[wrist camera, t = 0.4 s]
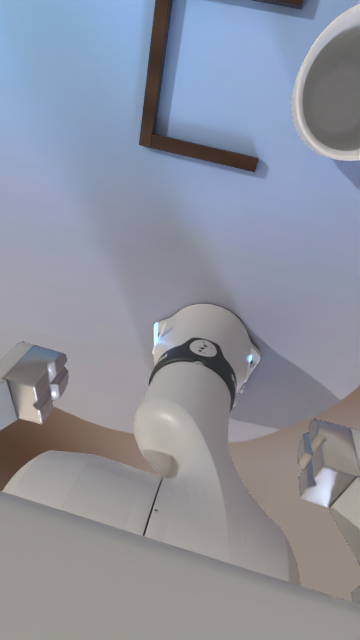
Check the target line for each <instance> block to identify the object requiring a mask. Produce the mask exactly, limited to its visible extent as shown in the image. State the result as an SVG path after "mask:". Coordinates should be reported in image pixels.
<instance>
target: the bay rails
mask: <svg viewBox="0 0 360 640" xmlns="http://www.w3.org/2000/svg"><path fill="white" fill-rule="evenodd" d="M253 1H259V2H264V3H270V4H276V5H281V6H287V7H292V8H298V9H301V7H302V3H303V0H253ZM171 7H172V0H156V1H155V9H154V18H153V27H152V36H151V45H150V53H149V62H148V71H147V80H146V89H145V97H144V106H143V115H142V124H141V132H140V141H139V145H142V146H146V147H151V148H154V149H159V150H163V151H167V152H171V153H176V154H180V155H184V156H188V157H193V158H197V159H201V160H205V161H210V162H214V163H218V164H222V165H227V166H231V167H235V168H240V169H244V170H248V171H252V172H255V169H256V166H257V162H258V158H257V157H252V156H248V155H244V154H239V153H235V152H230V151H226V150H222V149H217V148H213V147H209V146H204V145H200V144H196V143H191V142H187V141H183V140H178V139H174V138H170V137H165V136H161V135H157V134H155V127H156V120H157V112H158V105H159V97H160V90H161V82H162V75H163V67H164V60H165V52H166V45H167V37H168V30H169V22H170V15H171Z"/></svg>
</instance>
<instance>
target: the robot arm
mask: <svg viewBox="0 0 360 640" xmlns="http://www.w3.org/2000/svg"><path fill="white" fill-rule="evenodd" d="M159 334H160V335H159ZM153 337H154V348H153V351H152V354H153V355H154V368H153V370H152V373H151V377H150V379H149V387H148V389H147V391H146V393H145V395H144V397H143V399H142V401H141V403H140V405H139V407H138V410H137V412H136V414H135V418H134V435H135V439H136V441H137V444H138V447H139V449H140V451H141V453H142V455H143V456H144V458H145V459H146V460H147V461H148V463H149V464H150V465H151V466H152V467H153V468H154V469H155V470H156V471H157V472H158V473H159V474H160V475H161V476H158V475H155V474H152V473H149V472H146V471H143V470H140V469H137V468H134V467H131V466H128V465H125V464H122V463H119V462H116V461H113V460H110V459H107V458H104V457H101V456H98V455H91V454H82V453H74V452H63V451H47V452H44V453H43V454H40V455H38V456H37V457H35V458H34V459H32V460H31V461H29V462H28V463H27V464H26V465H24V466H23V467H22V468H21V469H20V470H19V471H18V472H17V473H16V474H15V475H14V476H13V477H12V478H11V480H10V481H9V482H8V484H7V485H6V487H5V488H4V490H3V491H0V640H360V586H359V587H357V588H356V589H355V590H353V591H352V592H351V595H352V602H350V601H347V600H344V599H341V598H338V597H334V596H331V595H328V594H325V593H322V592H319V591H315V590H312V589H309V588H306V587H303V586H301V585H300V584H301V583H300V576H299V570H298V566H297V562H296V559H295V556H294V553H293V550H292V548H291V546H290V544H289V541H288V539H287V537H286V536H285V534H284V532H283V531H282V529H281V528H280V527H279V526H278V525H277V524H276V523H275V522H274V521H273V520H272V519H271V518H270V517H269V516H268V515H267V514H266V513H265V512H264V511H263V510H262V509H261V507H260V506H259V505H258V504H257V502H256V501H255V500H254V499H253V497H252V496H251V494H250V493H249V491H248V490H247V489H246V487H245V485H244V484H243V482H242V480H241V478H240V477H239V474H238V472H237V471H236V468H235V466H234V464H233V461H232V458H231V455H230V452H229V447H228V422H229V413H230V412H231V410H232V408H235V407H236V405H237V403H238V400H239V395H237V393H238V392H239V393H242V392H243V391H244V388H245V385H243V384H244V383H245V382H247V379H248V377H249V376H250V374H251V373H252V371H253V370H254V369H255V367H256V366H257V364H258V363H259V361H260V359H261V353H260V351H259V350H258V349H257V348H256V347H255V345H254V344H253V343H252V342H251V341H250V338H249V335H248V333H247V330H246V328H245V326H244V325H243V323H242V322H241V321H240V320H239V318H238V317H236V316H235V315H234V314H233V313H231V312H230V311H228V310H226V309H224V308H222V307H219V306H216V305H211V304H195V305H191V306H188V307H185V308H183V309H181V310H180V311H178V312H177V313H176V314H175V315H173V316H172V317H171V318H169V319H165V320H161V321H158V322H157V323H155V325H154V328H153ZM251 361H252V362H251ZM66 362H67V359H66V354H64V353H61V352H57V351H54V350H51V349H47V348H44V347H40V346H37V345H33V344H29V343H26V342H20V343H18V344H17V345H16V346H15V347H14V348H13V349H12V350H11V351H10V352H9V353H8V354H7V355H6V356H5V357H4V358H3V359H2V360H1V361H0V430H1V429H3V428H5V427H6V426H8V425H9V424H11V423H13V422H14V421H16V420H17V418H20V419H23V420H27V421H31V422H35V423H40V424H43V422H44V421H45V419H46V418H47V416H48V415H49V413H50V412H51V410H52V409H53V404H52V402H53V401H55V400H56V399H58V398H60V397H61V396H62V394H63V392H64V391H65V388H66V386H67V383H68V377H69V376H68V370H67V369H66V368H65V367H64V365H65V364H66ZM297 459H298V465H299V466H300V468H301V469H302V473H301V475H300V476H299V490H300V499H302V500H306V501H309V502H312V503H315V504H318V505H321V506H324V507H328V508H329V511H330V513H331V515H332V516H333V518H334V520H335V522H336V524H337V525H338V527H339V529H340V531H341V533H342V534H343V536H344V538H345V540H346V542H347V543H348V545H349V547H350V548H351V551H352V552H353V554H354V556H355V558H356V560H357V561H358V563H359V565H360V430H357V429H353V428H350V427H346V426H342V425H338V424H334V423H330V422H326V421H322V420H318V419H313V420H312V421H311V422H310V424H309V432H307V433H305V434H303V436H302V438H301V440H300V442H299V446H298V454H297ZM162 479H163V480H162Z"/></svg>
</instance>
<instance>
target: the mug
mask: <svg viewBox="0 0 360 640" xmlns="http://www.w3.org/2000/svg"><path fill="white" fill-rule="evenodd" d="M291 101H292V104H291V107H292V111H291V112H292V118H293V123H294V125H295V129H296V131H297V133H298V134H299V137H300V138H301V139H302V141H303V142H304V143H305V144H306V146H308V147H309V148H310V149H312V150H313V151H314V152H316V153H318V154H319V155H322V156H324V157H328V158H331V159H335V160H341V161H357V160H360V4H357V5H355V6H353V7H352V8H350V9H348V10H347V11H345V12H344V13H342V14H341V15H339V16H338V17H337V18H336V19H335V20H333V21H332V22H331V23H330V24H329V25H328V26H327V27H326V28H325V29H324V31H323V32H322V33H321V34H320V35H319V37H318V38H317V39H316V41H315V42H314V43H313V45H312V46H311V48H310V50H309V51H308V53H307V55H306V57H305V59H304V61H303V63H302V65H301V67H300V69H299V72H298V74H297V77H296V81H295V84H294V88H293V93H292V100H291Z"/></svg>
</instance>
